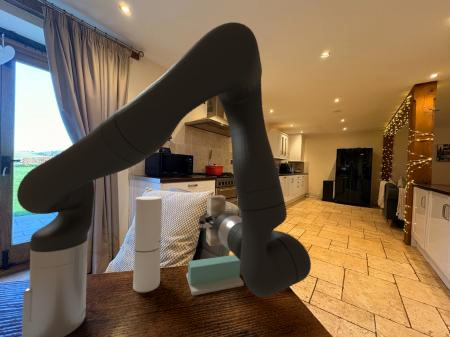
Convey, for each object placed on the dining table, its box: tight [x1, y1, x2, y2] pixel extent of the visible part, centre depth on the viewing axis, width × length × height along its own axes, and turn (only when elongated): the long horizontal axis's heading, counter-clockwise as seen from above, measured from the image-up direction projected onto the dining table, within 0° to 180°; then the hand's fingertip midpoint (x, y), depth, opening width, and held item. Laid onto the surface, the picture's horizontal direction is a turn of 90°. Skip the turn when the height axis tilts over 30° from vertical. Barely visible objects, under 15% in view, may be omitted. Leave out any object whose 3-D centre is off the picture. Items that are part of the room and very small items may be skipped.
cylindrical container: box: [132, 195, 163, 293], centre depth 57 cm, size 7×7×25 cm
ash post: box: [205, 194, 227, 247], centre depth 59 cm, size 4×4×14 cm
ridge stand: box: [185, 254, 245, 296], centre depth 59 cm, size 15×10×6 cm, turn 110°
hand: (213, 215), depth 62 cm, fingers closed on ash post, 4 cm apart
